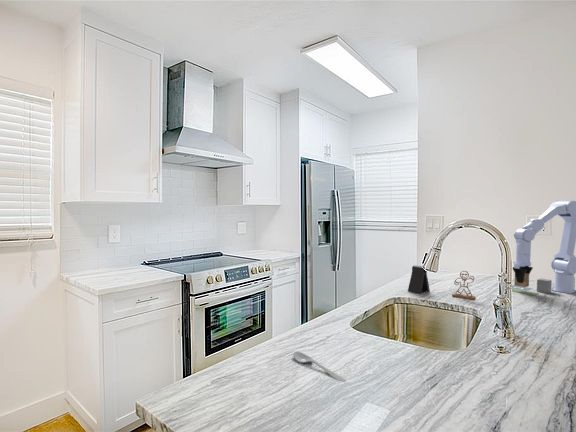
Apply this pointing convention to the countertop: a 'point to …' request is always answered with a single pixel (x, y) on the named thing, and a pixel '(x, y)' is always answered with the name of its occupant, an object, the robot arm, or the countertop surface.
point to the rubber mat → (524, 292)
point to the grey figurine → (464, 289)
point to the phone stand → (418, 280)
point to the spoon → (299, 356)
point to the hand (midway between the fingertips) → (522, 282)
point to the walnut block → (525, 281)
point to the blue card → (521, 288)
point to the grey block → (544, 285)
